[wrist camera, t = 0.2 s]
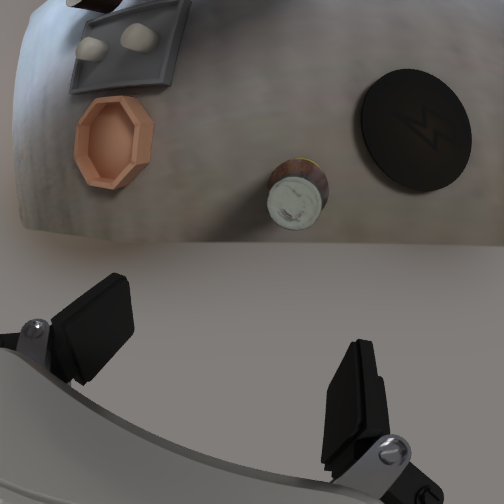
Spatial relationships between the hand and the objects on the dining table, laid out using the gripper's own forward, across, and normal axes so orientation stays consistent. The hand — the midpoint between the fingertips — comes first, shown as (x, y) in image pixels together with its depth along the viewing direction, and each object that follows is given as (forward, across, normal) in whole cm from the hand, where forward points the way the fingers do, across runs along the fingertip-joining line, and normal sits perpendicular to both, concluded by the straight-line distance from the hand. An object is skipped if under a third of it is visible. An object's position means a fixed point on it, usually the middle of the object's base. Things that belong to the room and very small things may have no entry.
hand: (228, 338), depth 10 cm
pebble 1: (+30, +40, -24) cm, 55 cm away
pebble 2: (+30, +28, -24) cm, 47 cm away
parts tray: (+31, +34, -24) cm, 52 cm away
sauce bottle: (+31, 0, -3) cm, 31 cm away
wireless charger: (+32, -16, -14) cm, 38 cm away
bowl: (+31, +32, -5) cm, 45 cm away
